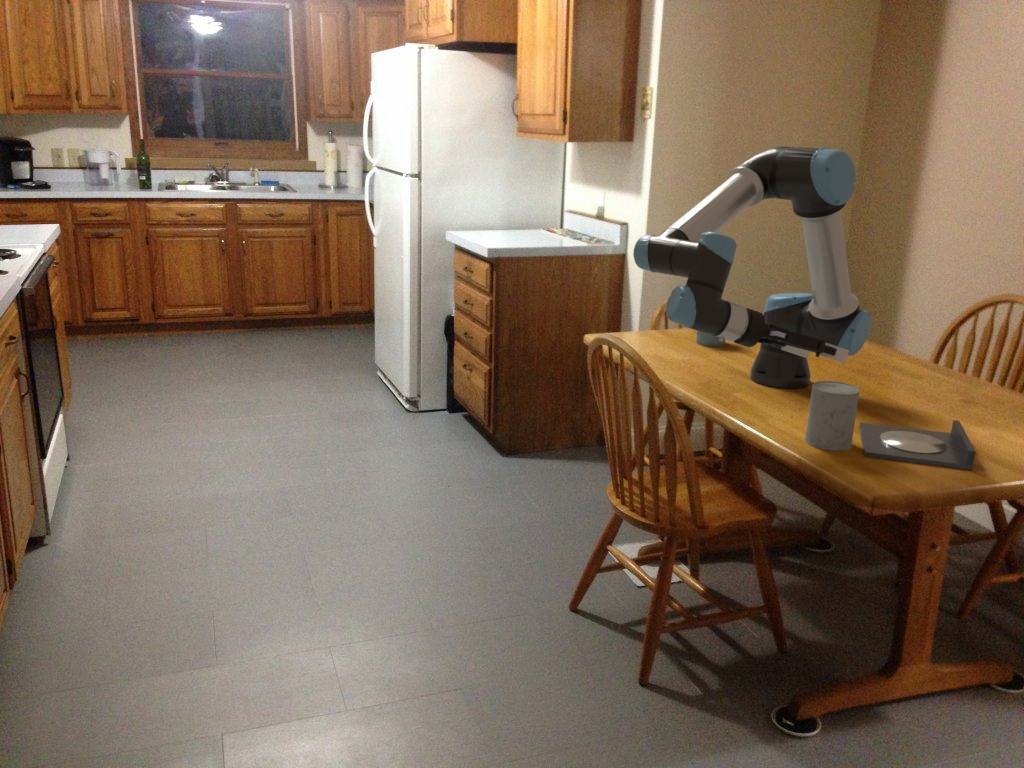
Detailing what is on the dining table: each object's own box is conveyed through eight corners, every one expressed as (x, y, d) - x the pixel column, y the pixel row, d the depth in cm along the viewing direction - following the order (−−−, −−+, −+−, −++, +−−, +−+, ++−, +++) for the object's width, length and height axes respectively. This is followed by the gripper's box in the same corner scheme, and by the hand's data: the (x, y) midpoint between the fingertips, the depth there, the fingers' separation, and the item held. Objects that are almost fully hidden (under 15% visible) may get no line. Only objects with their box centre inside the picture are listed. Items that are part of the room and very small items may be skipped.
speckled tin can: (858, 442, 190) (867, 387, 186) (841, 454, 183) (849, 397, 179) (815, 431, 196) (823, 378, 192) (797, 442, 189) (804, 387, 185)
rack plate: (859, 426, 200) (861, 409, 199) (956, 438, 195) (959, 420, 193) (864, 456, 182) (867, 438, 181) (972, 470, 176) (975, 451, 175)
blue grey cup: (688, 339, 276) (691, 301, 272) (717, 338, 279) (721, 300, 275) (704, 347, 266) (708, 308, 263) (734, 346, 269) (738, 307, 266)
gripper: (706, 339, 193) (789, 366, 199) (764, 346, 169) (857, 377, 174) (717, 306, 193) (799, 334, 198) (776, 308, 169) (869, 340, 174)
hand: (826, 354), depth 186 cm, fingers open, 13 cm apart
